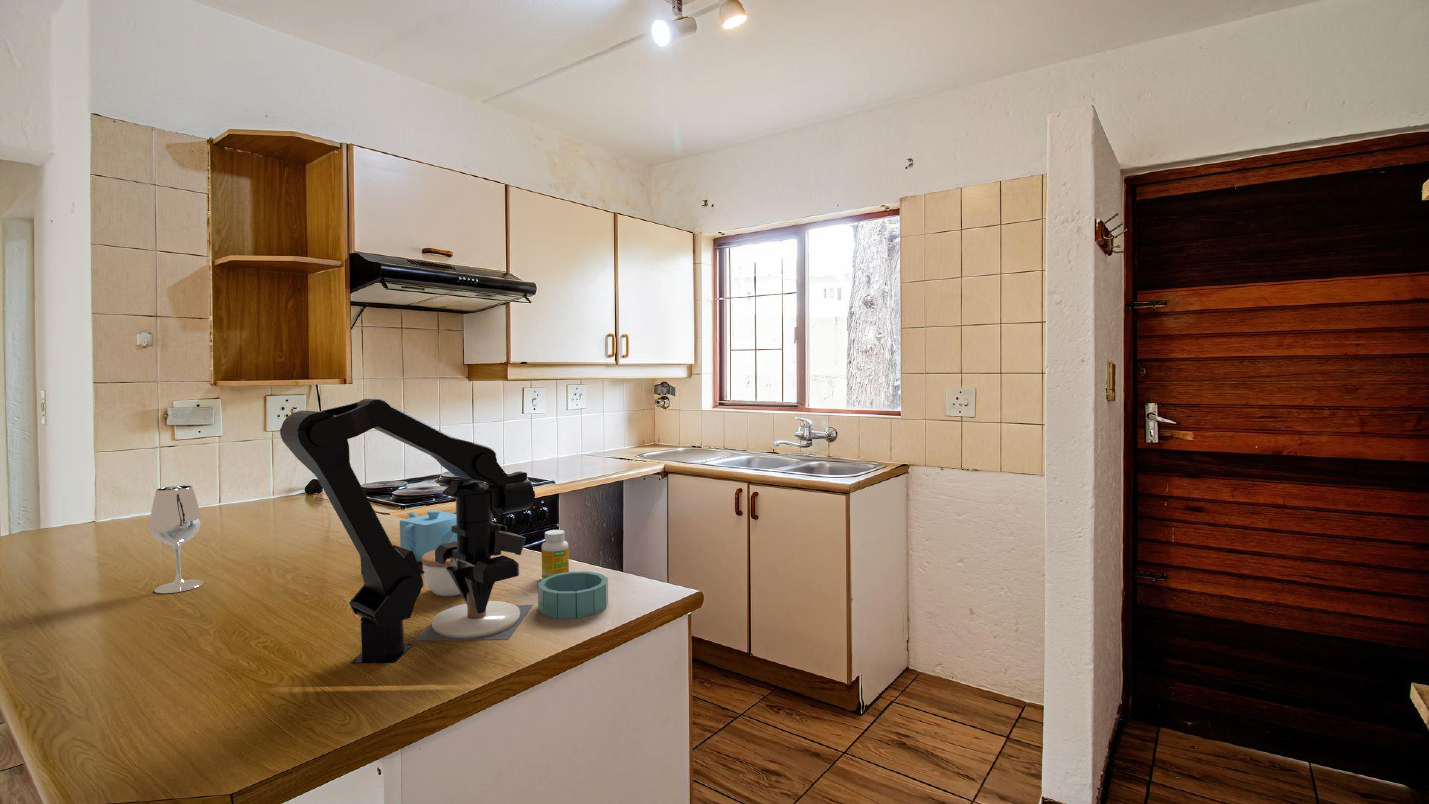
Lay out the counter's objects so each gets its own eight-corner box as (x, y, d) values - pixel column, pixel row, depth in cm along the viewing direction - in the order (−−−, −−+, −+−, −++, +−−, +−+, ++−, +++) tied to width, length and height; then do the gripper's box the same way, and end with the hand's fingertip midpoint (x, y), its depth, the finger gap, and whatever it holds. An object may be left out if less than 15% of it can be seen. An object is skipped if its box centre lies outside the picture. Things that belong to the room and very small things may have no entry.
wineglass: (145, 590, 129) (140, 489, 128) (192, 578, 136) (187, 483, 135) (165, 596, 125) (160, 493, 124) (211, 584, 132) (207, 486, 131)
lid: (506, 637, 104) (505, 607, 104) (417, 639, 104) (416, 608, 104) (529, 605, 118) (528, 578, 118) (450, 607, 118) (450, 579, 118)
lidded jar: (462, 604, 121) (460, 554, 120) (410, 600, 123) (408, 551, 122) (492, 585, 131) (491, 539, 131) (444, 582, 133) (443, 536, 133)
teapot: (428, 575, 138) (426, 522, 137) (378, 562, 147) (376, 512, 147) (489, 556, 151) (488, 508, 151) (440, 545, 161) (438, 500, 160)
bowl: (602, 621, 113) (601, 592, 112) (531, 622, 112) (531, 593, 112) (611, 597, 125) (611, 571, 124) (548, 597, 124) (547, 571, 124)
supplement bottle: (555, 584, 132) (554, 536, 131) (536, 579, 135) (535, 533, 134) (574, 577, 136) (573, 530, 136) (555, 572, 139) (555, 527, 139)
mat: (508, 642, 104) (508, 639, 104) (413, 643, 104) (413, 640, 104) (532, 607, 119) (532, 604, 119) (449, 608, 119) (449, 605, 119)
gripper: (546, 519, 110) (548, 611, 110) (492, 504, 123) (494, 586, 123) (483, 532, 102) (486, 630, 102) (432, 513, 115) (434, 601, 115)
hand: (476, 610), depth 111 cm, fingers closed on lid, 3 cm apart
